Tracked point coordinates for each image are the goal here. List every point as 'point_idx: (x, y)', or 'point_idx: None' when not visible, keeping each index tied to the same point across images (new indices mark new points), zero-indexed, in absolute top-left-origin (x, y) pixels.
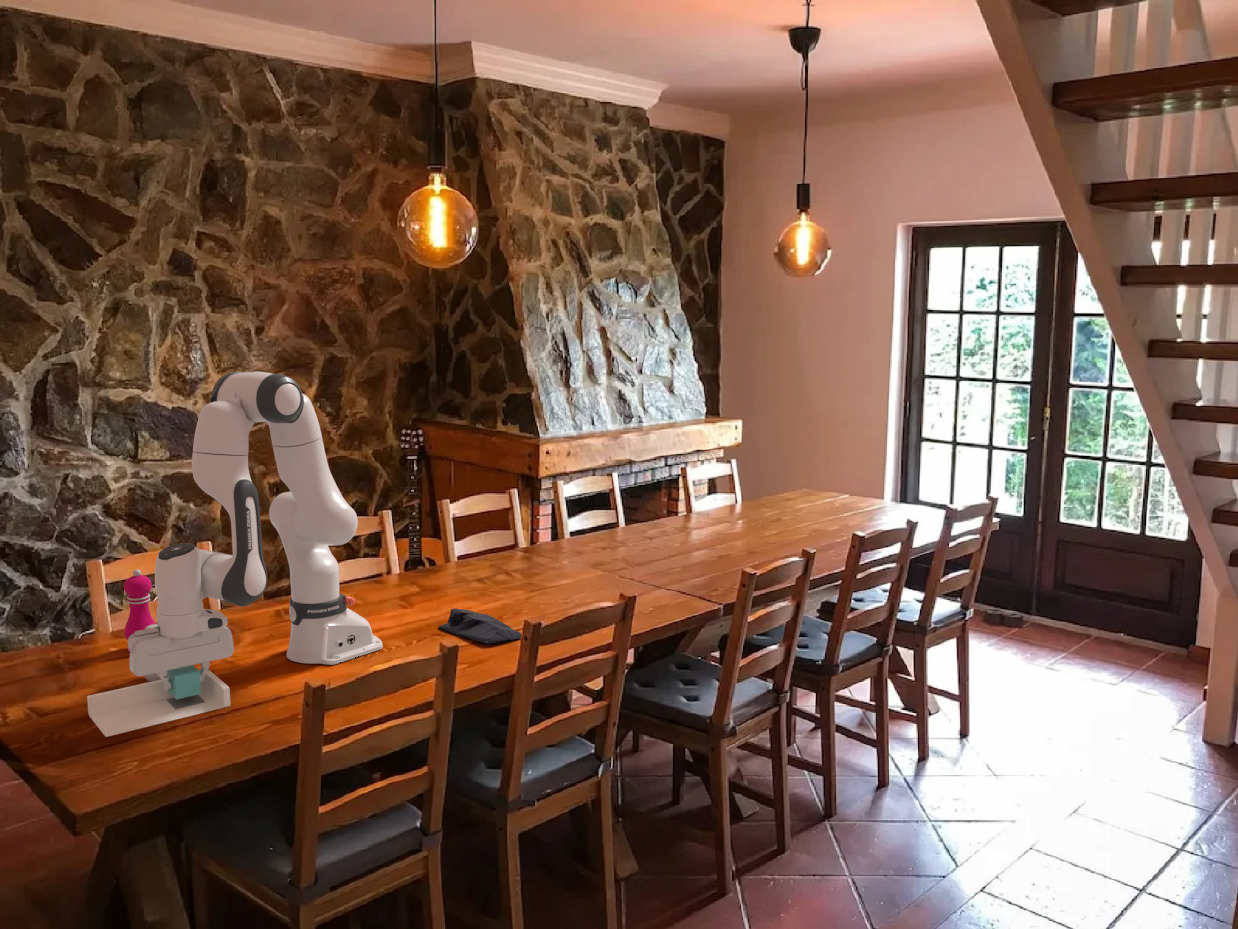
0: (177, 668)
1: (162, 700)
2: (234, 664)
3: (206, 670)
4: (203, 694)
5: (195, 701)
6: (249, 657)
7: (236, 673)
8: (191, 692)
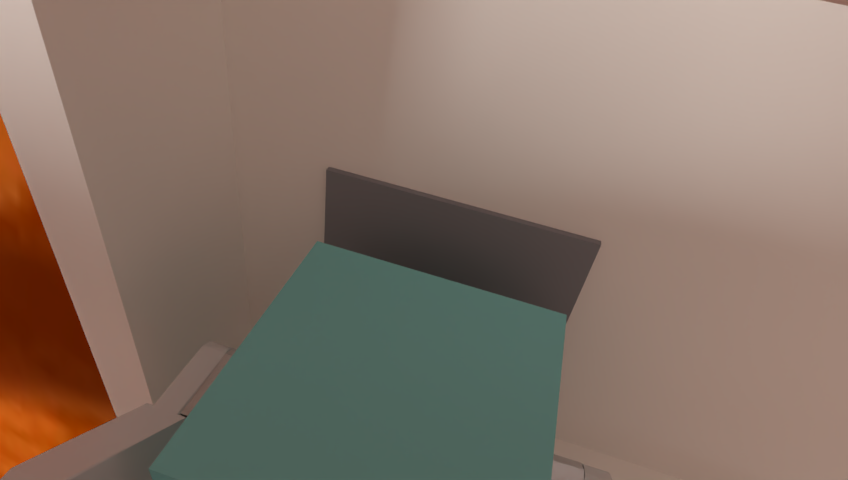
0: None
1: None
2: (76, 434)
3: (94, 436)
4: None
5: (387, 235)
6: (16, 432)
7: (74, 373)
8: (395, 294)
